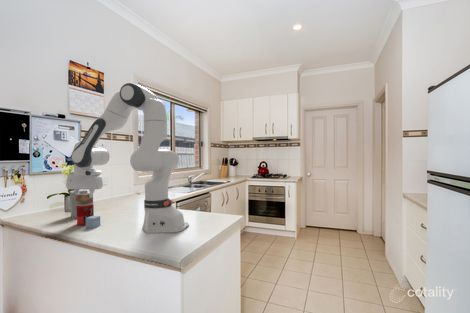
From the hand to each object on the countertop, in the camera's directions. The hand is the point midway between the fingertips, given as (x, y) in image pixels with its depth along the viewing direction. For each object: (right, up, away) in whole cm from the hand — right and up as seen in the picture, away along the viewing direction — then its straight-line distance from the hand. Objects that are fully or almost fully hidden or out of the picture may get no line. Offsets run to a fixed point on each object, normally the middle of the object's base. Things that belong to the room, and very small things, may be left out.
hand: (84, 197), depth 123 cm
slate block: (+8, -14, -6) cm, 17 cm away
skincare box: (-14, -15, +16) cm, 26 cm away
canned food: (+1, -14, 0) cm, 14 cm away
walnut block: (0, -3, 0) cm, 3 cm away
